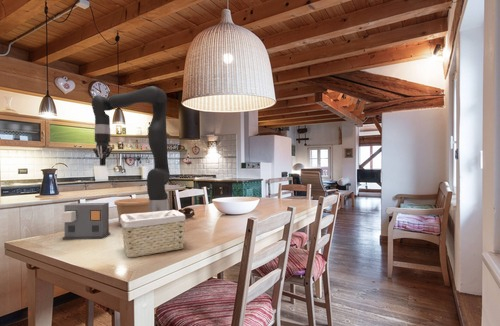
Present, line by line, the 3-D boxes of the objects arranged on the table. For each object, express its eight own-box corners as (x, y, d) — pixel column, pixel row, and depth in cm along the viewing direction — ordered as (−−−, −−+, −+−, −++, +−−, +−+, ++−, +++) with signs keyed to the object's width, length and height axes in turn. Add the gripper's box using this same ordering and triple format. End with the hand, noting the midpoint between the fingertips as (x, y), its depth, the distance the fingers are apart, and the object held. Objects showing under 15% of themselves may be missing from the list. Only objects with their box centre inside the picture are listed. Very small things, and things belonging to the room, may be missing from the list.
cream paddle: (68, 220, 136) (68, 210, 136) (76, 219, 136) (76, 210, 136) (61, 222, 131) (61, 212, 131) (70, 222, 131) (70, 212, 131)
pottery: (106, 228, 156) (106, 202, 156) (125, 220, 178) (125, 197, 178) (145, 229, 155) (145, 202, 156) (160, 221, 177) (159, 198, 177)
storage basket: (123, 260, 105) (123, 220, 105) (119, 248, 119) (119, 213, 119) (186, 250, 117) (186, 214, 117) (175, 241, 131) (175, 209, 131)
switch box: (72, 235, 142) (72, 203, 142) (110, 234, 143) (110, 202, 144) (62, 239, 134) (62, 205, 134) (102, 238, 135) (102, 205, 135)
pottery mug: (196, 218, 189) (197, 208, 185) (190, 227, 181) (191, 217, 177) (180, 213, 191) (180, 203, 187) (173, 221, 183) (173, 211, 179)
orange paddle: (96, 218, 140) (96, 209, 140) (104, 218, 141) (104, 209, 141) (91, 220, 135) (91, 210, 135) (99, 220, 136) (99, 210, 136)
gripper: (116, 133, 154) (117, 165, 154) (100, 134, 160) (100, 165, 160) (104, 132, 147) (104, 165, 147) (88, 133, 153) (88, 165, 153)
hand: (102, 165), depth 154 cm, fingers closed
